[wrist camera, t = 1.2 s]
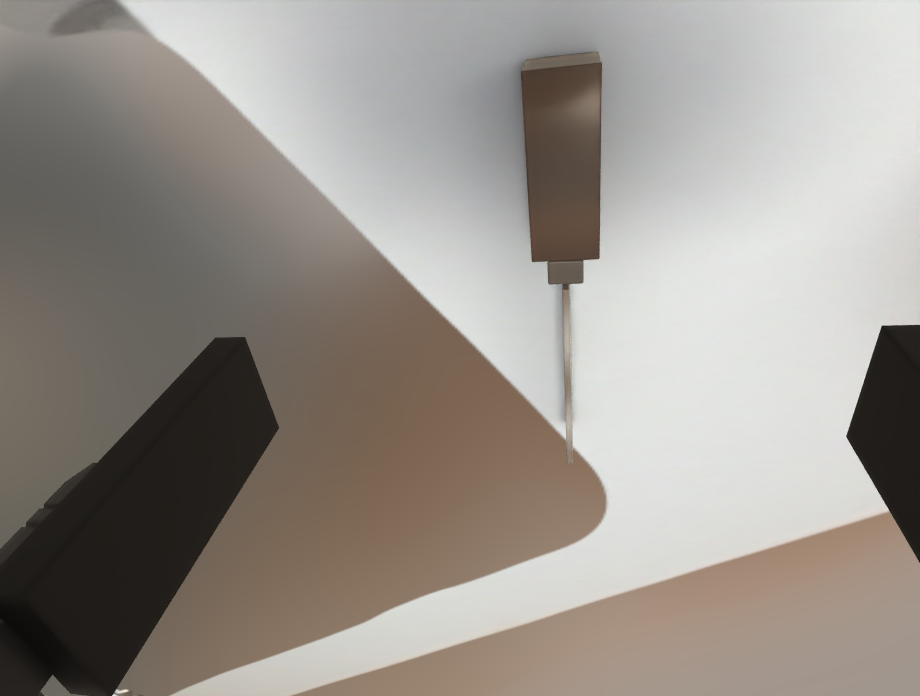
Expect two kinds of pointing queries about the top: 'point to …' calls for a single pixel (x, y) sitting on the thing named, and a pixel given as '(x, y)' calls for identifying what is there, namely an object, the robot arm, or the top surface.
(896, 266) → the top surface
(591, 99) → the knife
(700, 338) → the top surface
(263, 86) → the top surface
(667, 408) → the top surface
